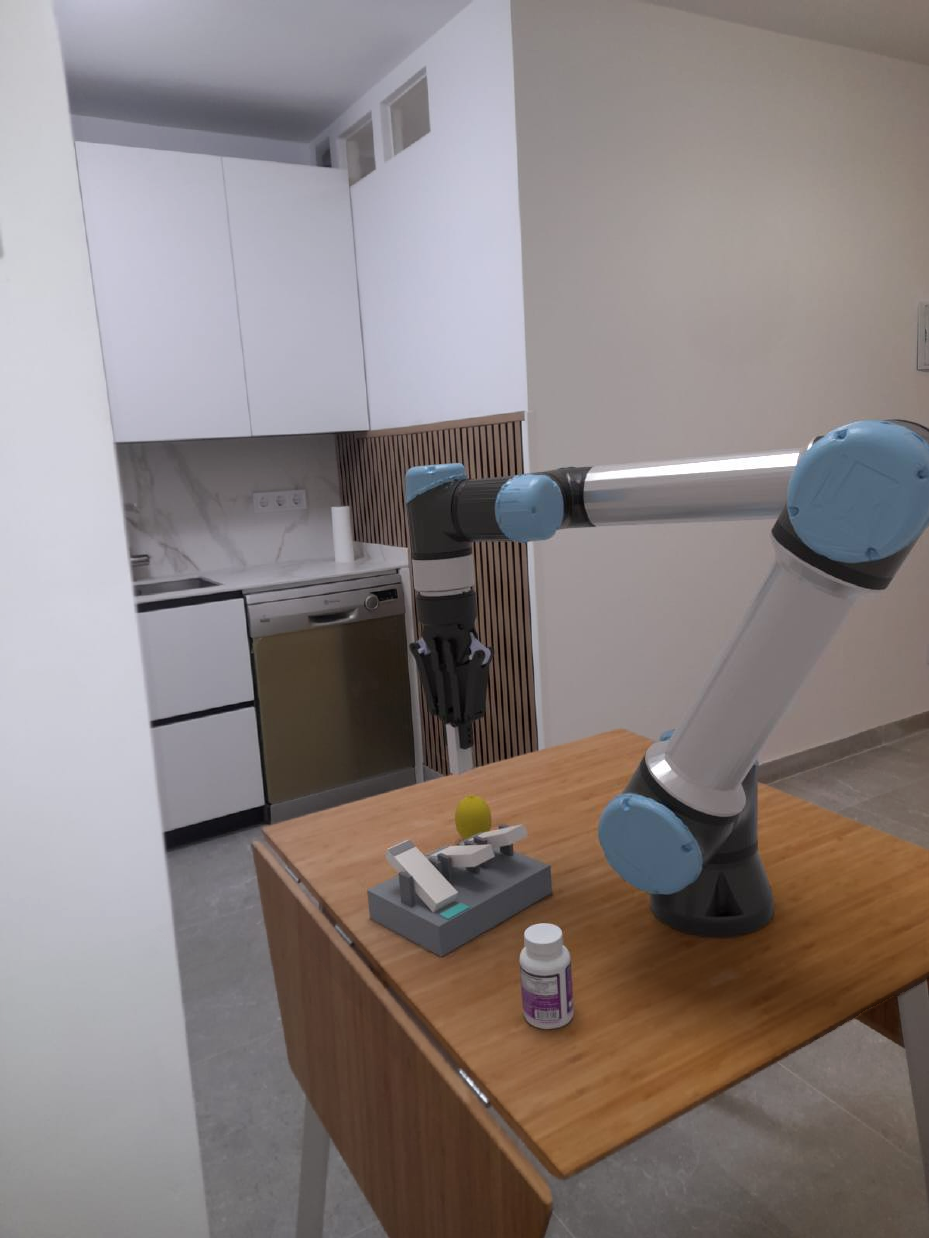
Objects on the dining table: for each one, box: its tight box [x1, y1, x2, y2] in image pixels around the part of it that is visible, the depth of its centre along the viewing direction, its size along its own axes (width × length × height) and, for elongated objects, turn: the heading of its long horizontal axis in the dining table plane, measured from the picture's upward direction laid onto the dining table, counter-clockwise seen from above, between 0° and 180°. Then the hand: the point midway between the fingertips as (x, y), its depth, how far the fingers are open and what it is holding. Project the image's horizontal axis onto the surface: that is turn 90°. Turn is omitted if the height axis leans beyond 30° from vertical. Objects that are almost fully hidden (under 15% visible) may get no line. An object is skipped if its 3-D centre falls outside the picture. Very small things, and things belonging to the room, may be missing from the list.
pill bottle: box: [519, 922, 575, 1030], centre depth 95 cm, size 5×5×10 cm
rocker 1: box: [384, 838, 458, 913], centre depth 114 cm, size 10×4×2 cm, turn 44°
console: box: [366, 823, 553, 958], centre depth 119 cm, size 14×20×8 cm
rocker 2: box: [423, 844, 495, 867], centre depth 119 cm, size 10×4×2 cm, turn 43°
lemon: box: [454, 793, 493, 840], centre depth 137 cm, size 6×6×8 cm
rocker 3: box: [459, 823, 529, 848], centre depth 123 cm, size 10×4×2 cm, turn 43°
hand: (461, 770), depth 117 cm, fingers closed
